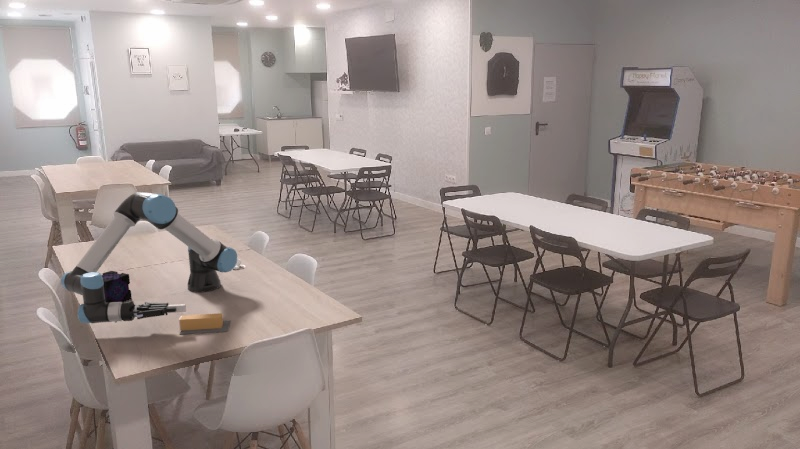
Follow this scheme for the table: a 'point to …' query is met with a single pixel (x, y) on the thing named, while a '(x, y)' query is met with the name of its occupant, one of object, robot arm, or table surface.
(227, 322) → the mat
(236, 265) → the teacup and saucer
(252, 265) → the table surface
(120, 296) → the energy cube
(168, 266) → the table surface
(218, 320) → the tall block
